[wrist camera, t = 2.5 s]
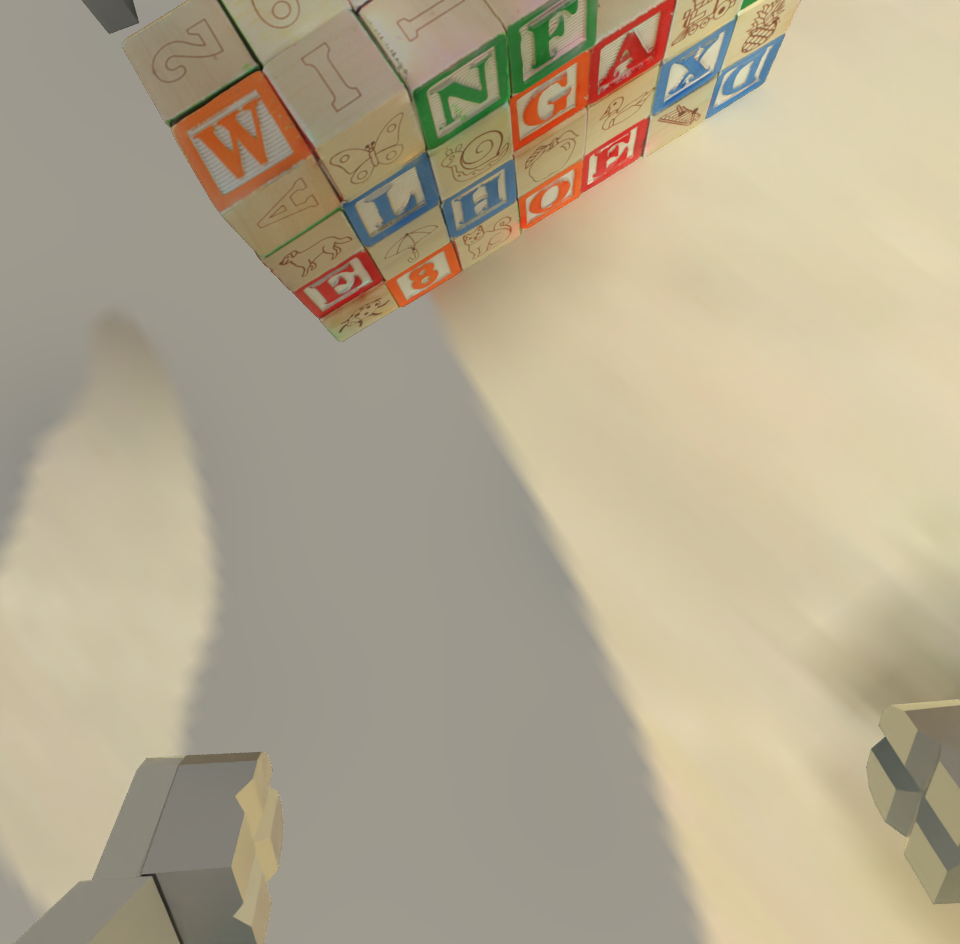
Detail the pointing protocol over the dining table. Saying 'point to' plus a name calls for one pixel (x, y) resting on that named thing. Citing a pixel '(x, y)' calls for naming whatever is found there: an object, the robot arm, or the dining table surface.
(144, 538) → the dining table surface
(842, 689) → the dining table surface
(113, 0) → the frame
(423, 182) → the stack of blocks
